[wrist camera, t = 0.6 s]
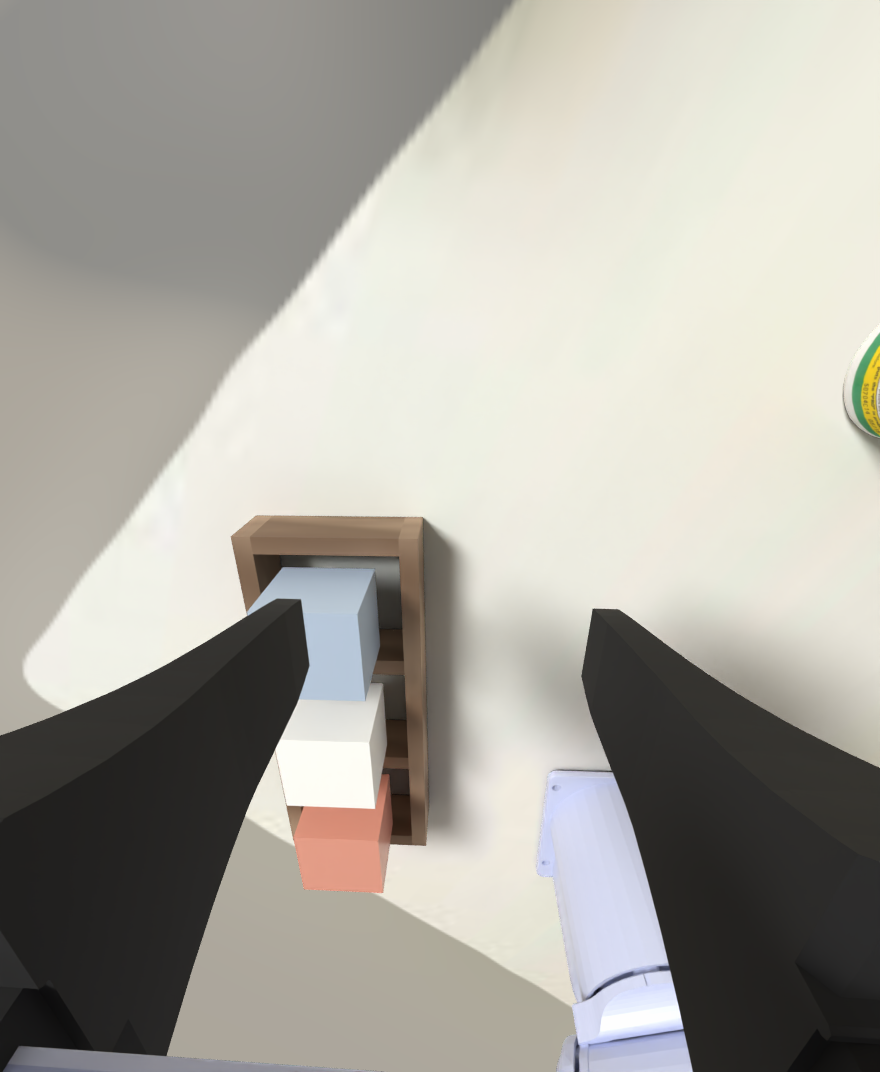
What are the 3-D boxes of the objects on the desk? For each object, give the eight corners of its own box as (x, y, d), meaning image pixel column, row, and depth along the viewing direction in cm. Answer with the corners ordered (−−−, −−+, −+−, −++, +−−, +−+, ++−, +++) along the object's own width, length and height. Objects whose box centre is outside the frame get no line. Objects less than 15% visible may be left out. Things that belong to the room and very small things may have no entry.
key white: (387, 744, 23) (375, 808, 20) (310, 741, 23) (286, 805, 20) (382, 683, 21) (369, 742, 18) (301, 681, 22) (273, 739, 18)
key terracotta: (392, 823, 25) (383, 892, 22) (323, 821, 26) (304, 889, 22) (389, 774, 24) (378, 840, 21) (315, 771, 24) (293, 837, 21)
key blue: (380, 645, 21) (365, 701, 17) (294, 643, 21) (264, 698, 18) (374, 568, 19) (357, 614, 16) (282, 567, 19) (246, 612, 16)
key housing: (428, 804, 28) (426, 845, 26) (307, 800, 28) (293, 840, 26) (422, 517, 20) (417, 538, 18) (256, 515, 21) (230, 536, 18)
